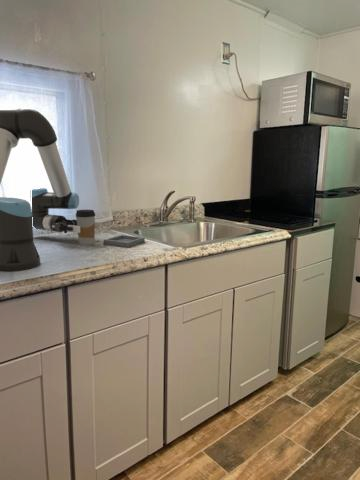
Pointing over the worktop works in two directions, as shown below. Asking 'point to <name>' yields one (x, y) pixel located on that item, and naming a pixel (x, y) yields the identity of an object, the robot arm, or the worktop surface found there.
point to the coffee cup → (86, 226)
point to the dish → (124, 241)
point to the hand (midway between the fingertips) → (90, 227)
